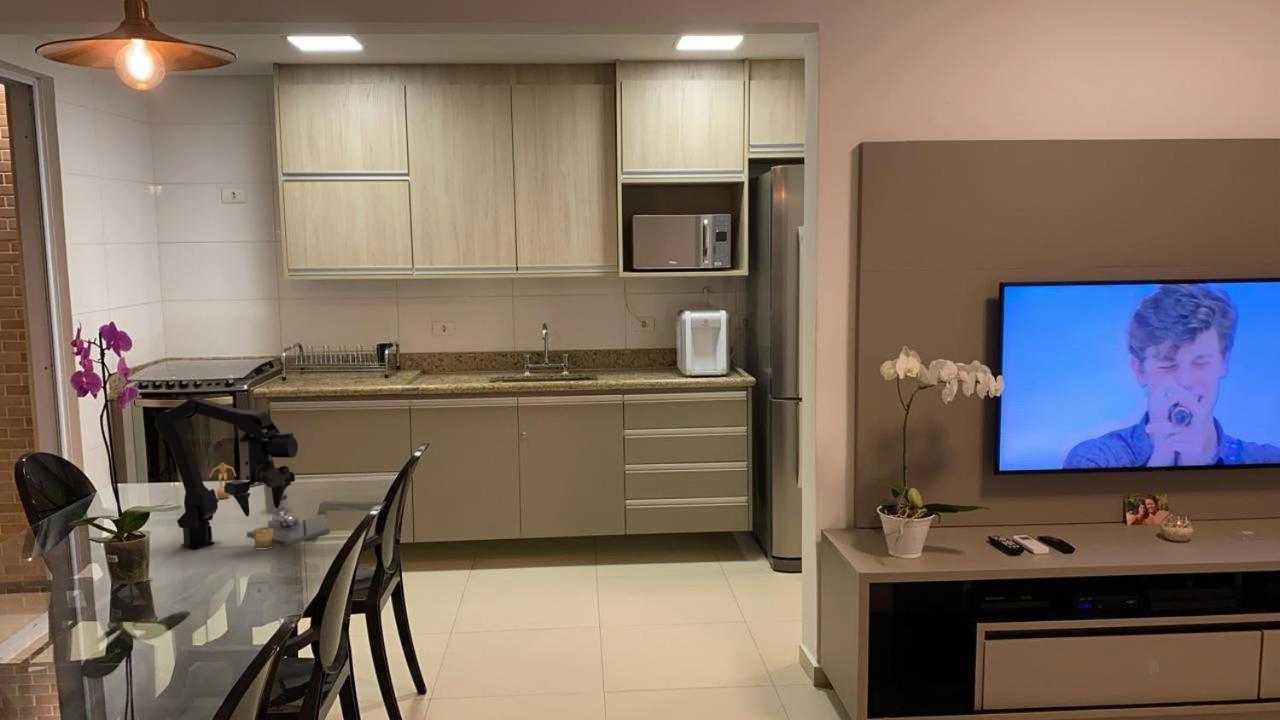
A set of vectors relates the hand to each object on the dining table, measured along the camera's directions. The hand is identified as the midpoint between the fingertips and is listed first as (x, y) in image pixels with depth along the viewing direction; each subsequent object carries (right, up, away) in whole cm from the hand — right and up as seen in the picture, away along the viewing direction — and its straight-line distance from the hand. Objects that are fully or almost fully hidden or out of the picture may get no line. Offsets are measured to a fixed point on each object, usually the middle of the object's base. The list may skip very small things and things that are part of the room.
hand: (262, 512), depth 261 cm
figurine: (-36, -5, +58) cm, 68 cm away
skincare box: (-11, -6, +38) cm, 40 cm away
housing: (0, -10, +1) cm, 10 cm away
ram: (0, -6, +18) cm, 19 cm away
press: (+3, -9, +12) cm, 15 cm away
